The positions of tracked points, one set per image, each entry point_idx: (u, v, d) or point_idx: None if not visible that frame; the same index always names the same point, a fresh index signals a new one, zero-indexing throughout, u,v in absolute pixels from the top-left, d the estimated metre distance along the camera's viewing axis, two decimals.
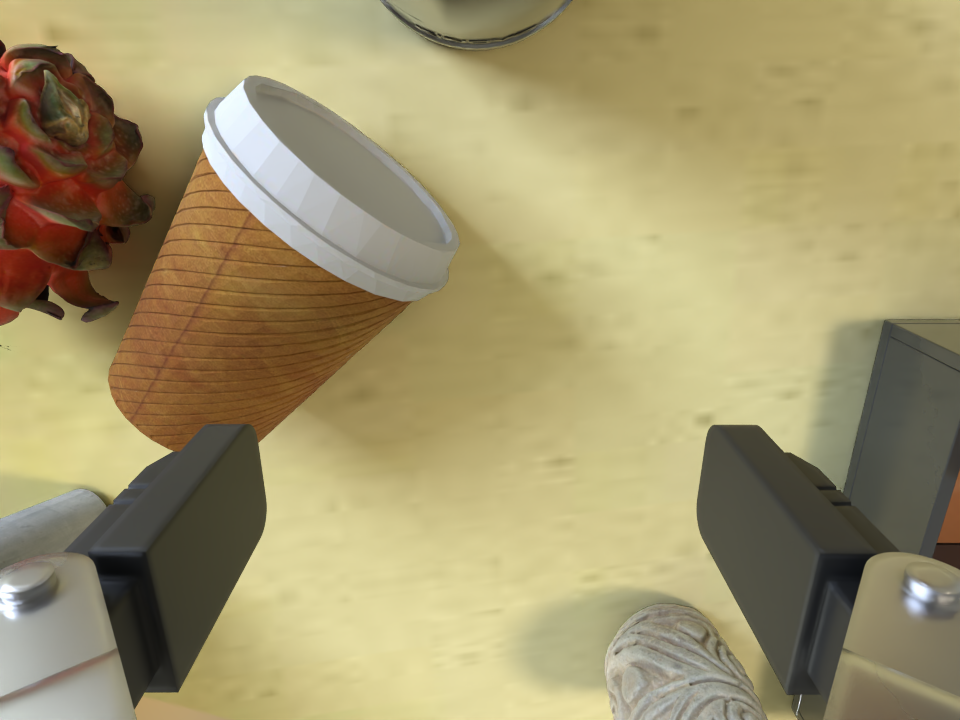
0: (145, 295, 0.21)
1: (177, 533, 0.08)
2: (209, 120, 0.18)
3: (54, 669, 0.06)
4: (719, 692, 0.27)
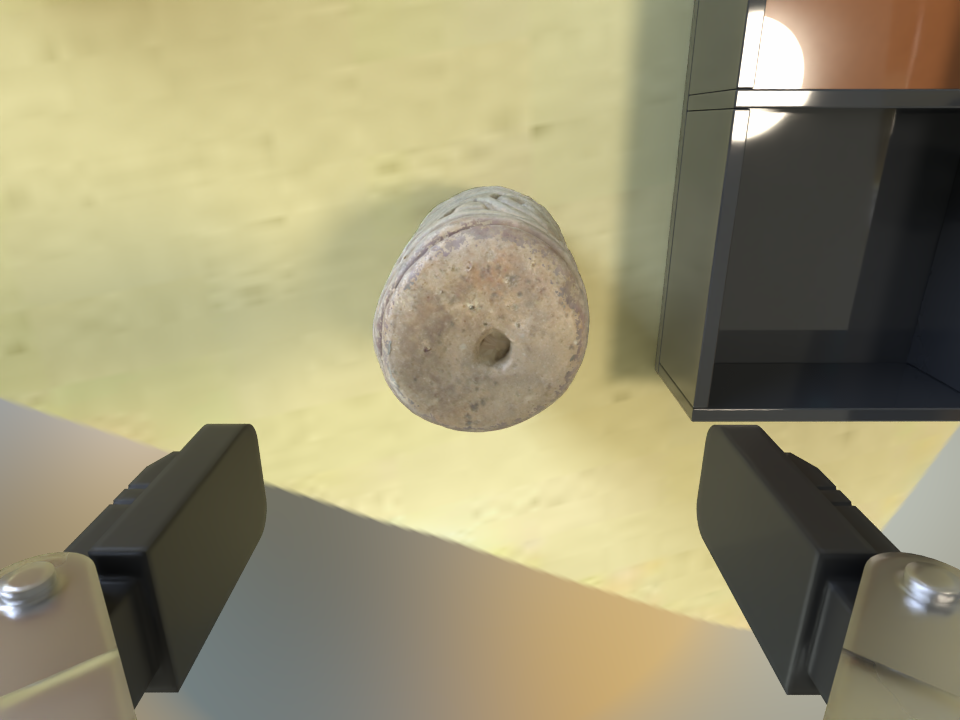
0: None
1: (177, 533, 0.08)
2: None
3: (54, 669, 0.06)
4: (494, 191, 0.20)
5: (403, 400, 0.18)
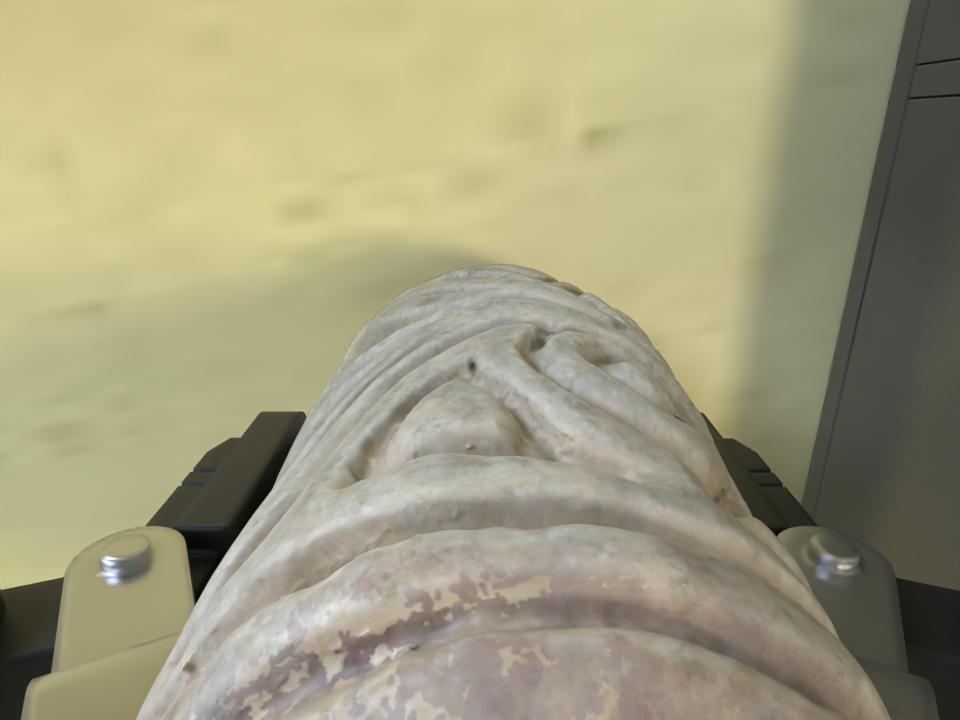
0: None
1: (250, 511, 0.08)
2: None
3: (140, 638, 0.06)
4: (527, 312, 0.07)
5: None
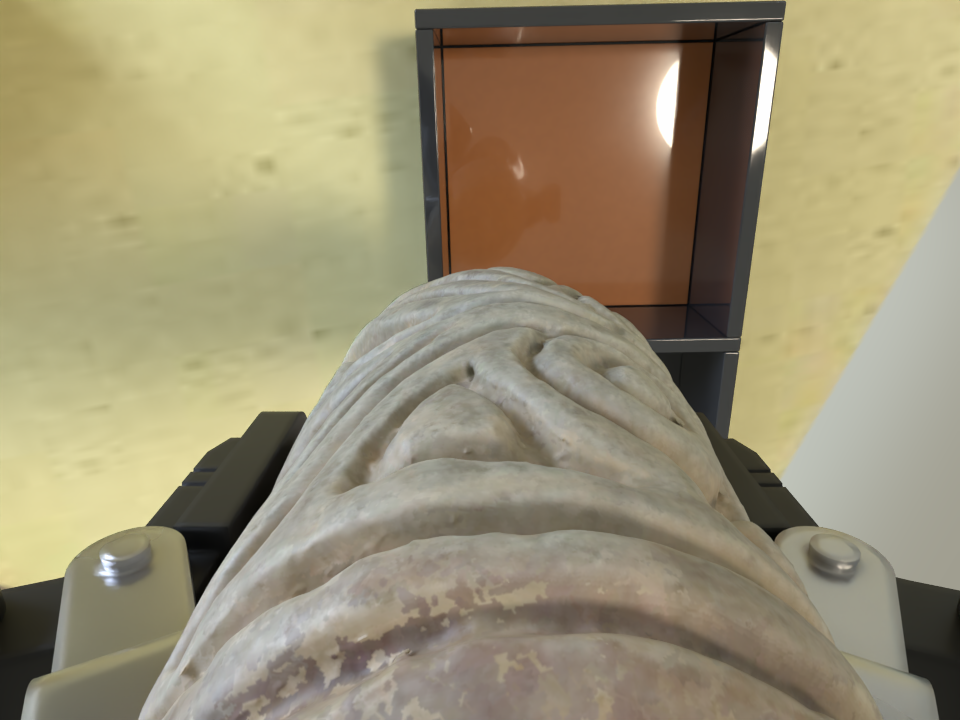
0: None
1: (250, 511, 0.08)
2: None
3: (141, 638, 0.06)
4: (525, 316, 0.07)
5: None
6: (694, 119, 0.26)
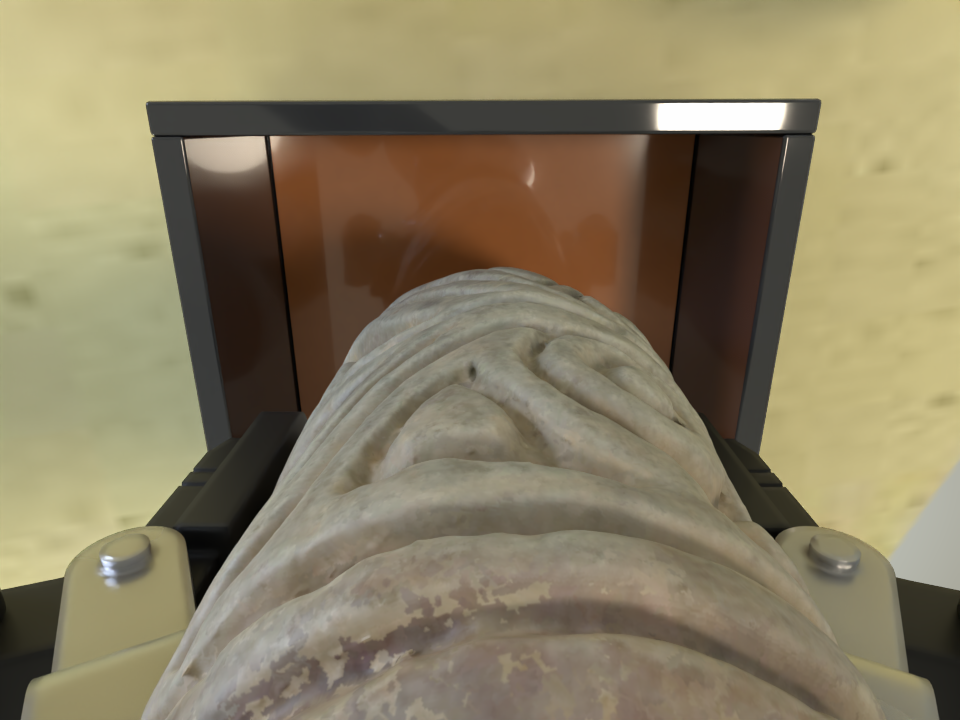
0: None
1: (250, 511, 0.08)
2: None
3: (140, 638, 0.06)
4: (526, 316, 0.07)
5: None
6: (665, 247, 0.17)
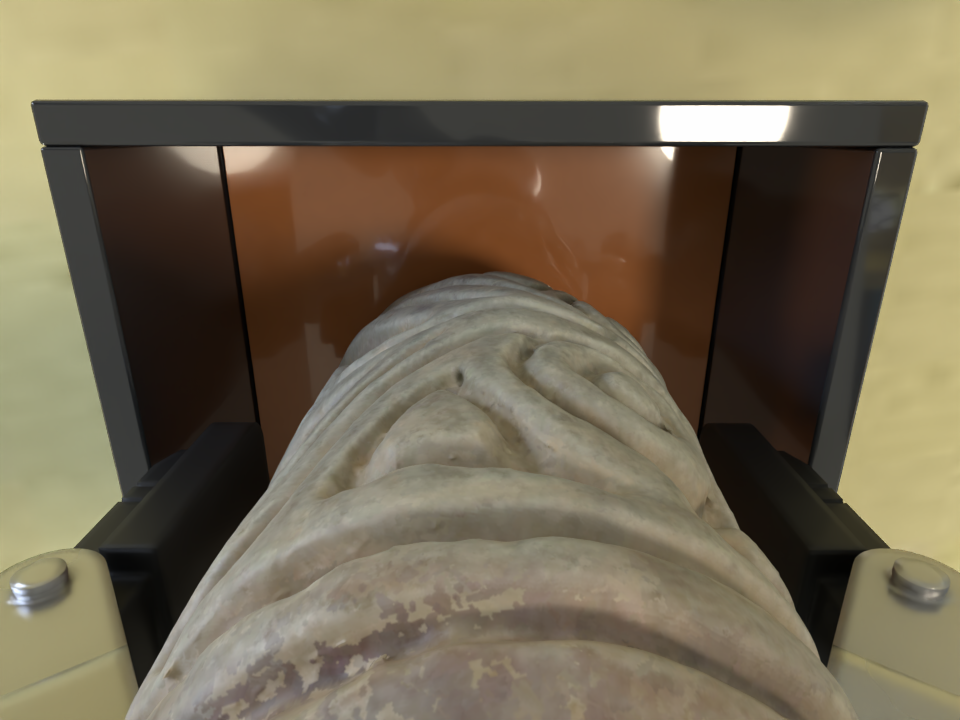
0: None
1: (186, 530, 0.08)
2: None
3: (65, 665, 0.06)
4: (516, 322, 0.07)
5: None
6: (698, 277, 0.14)
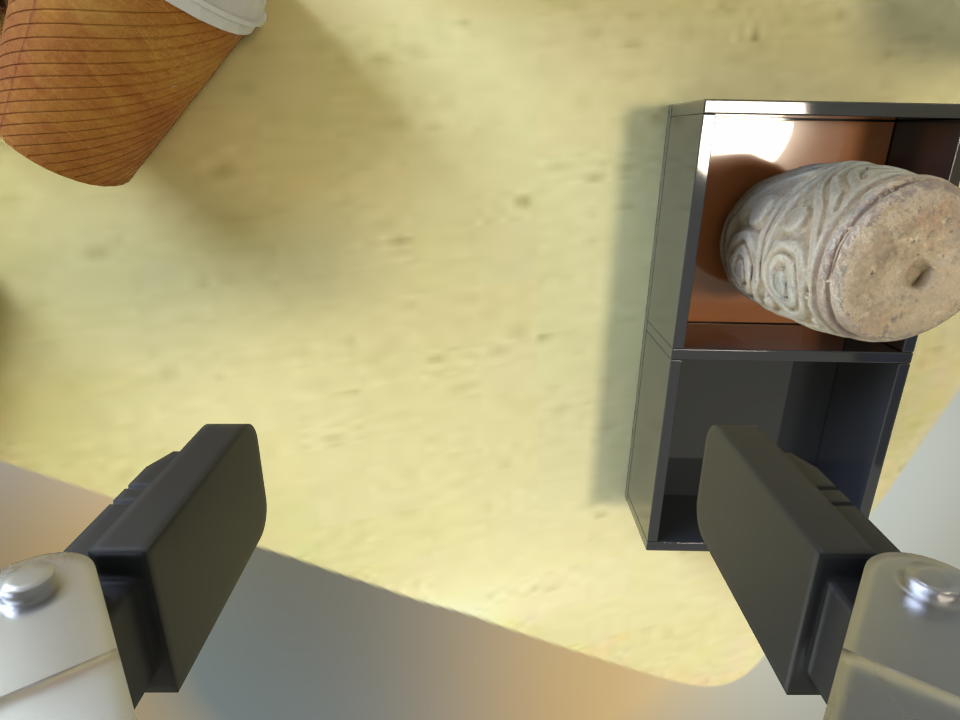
0: None
1: (177, 533, 0.08)
2: None
3: (54, 669, 0.06)
4: (867, 162, 0.26)
5: (840, 313, 0.23)
6: None
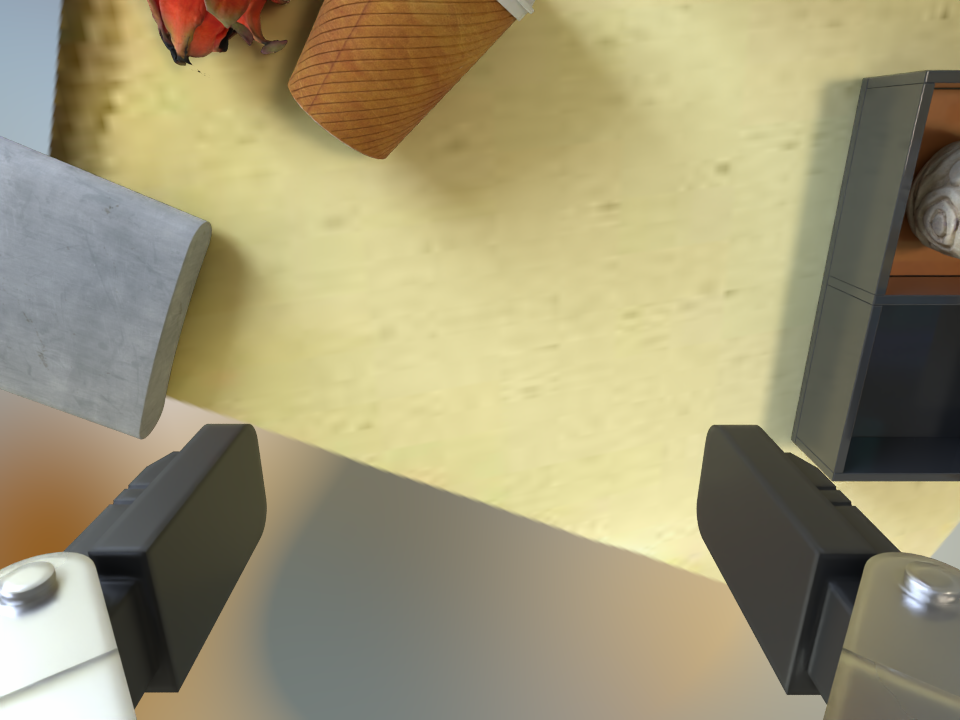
0: (322, 12, 0.30)
1: (177, 533, 0.08)
2: None
3: (54, 669, 0.06)
4: None
5: None
6: None
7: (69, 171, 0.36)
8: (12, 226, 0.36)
